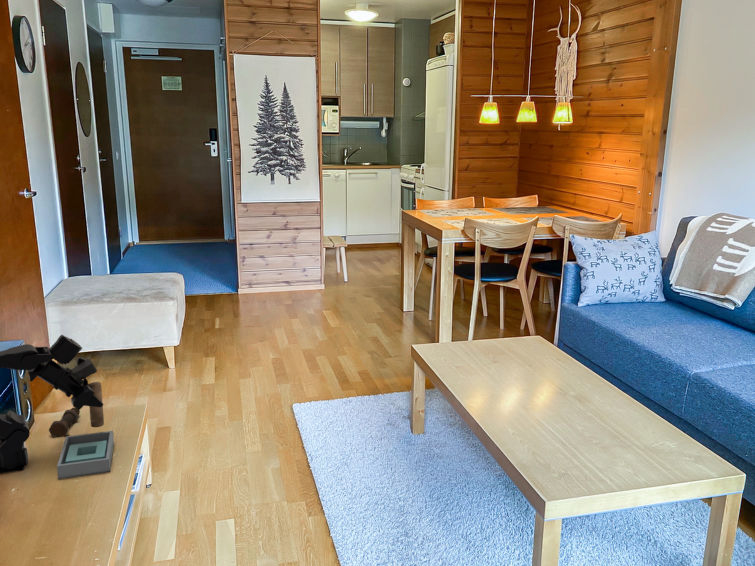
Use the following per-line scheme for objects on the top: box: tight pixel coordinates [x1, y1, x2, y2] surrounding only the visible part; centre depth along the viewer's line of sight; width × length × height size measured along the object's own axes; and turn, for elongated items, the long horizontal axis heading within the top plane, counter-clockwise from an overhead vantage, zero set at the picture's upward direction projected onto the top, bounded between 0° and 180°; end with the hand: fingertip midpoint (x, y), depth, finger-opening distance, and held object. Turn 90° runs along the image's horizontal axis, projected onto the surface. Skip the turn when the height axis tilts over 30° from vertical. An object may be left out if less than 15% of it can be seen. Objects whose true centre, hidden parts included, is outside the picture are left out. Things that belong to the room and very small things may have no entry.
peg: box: [88, 381, 105, 428], centre depth 184 cm, size 4×4×13 cm
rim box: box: [56, 430, 115, 480], centre depth 178 cm, size 13×18×4 cm
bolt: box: [48, 407, 81, 438], centre depth 199 cm, size 6×5×15 cm
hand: (100, 403), depth 185 cm, fingers closed on peg, 4 cm apart
